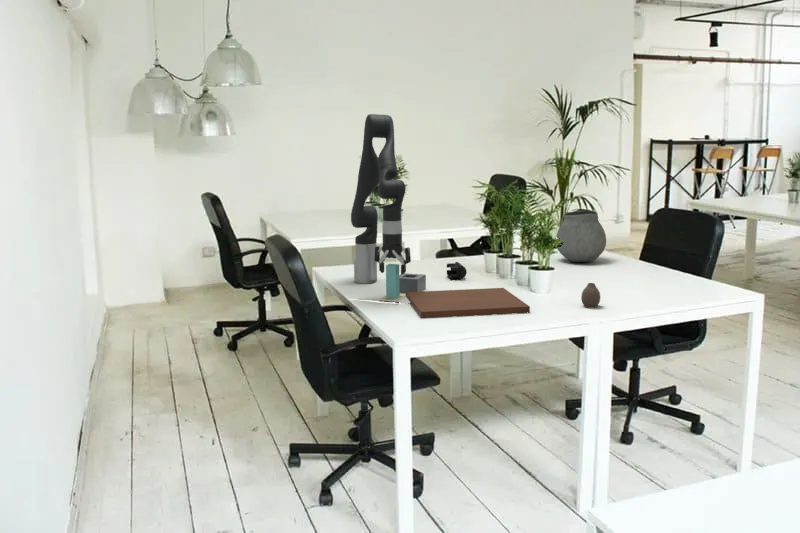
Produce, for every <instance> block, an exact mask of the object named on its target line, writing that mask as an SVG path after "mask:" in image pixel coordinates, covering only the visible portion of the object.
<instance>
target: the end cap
mask: <svg viewBox="0 0 800 533" xmlns="http://www.w3.org/2000/svg"><path fill="white" fill-rule="evenodd" d="M446 268H450V269H447V270H446V277H447V279H448V280H449V281H451V282H452V280H455V281H462V280H463V279H464V278H465V277H466V276H467V273H468V272H467V268H466V267H465V266H464V265H462V263H460V262H458V261H455V262H454V263H453V262H452V263H450V262H449V263H446Z"/></svg>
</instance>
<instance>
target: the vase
mask: <svg viewBox="0 0 800 533" xmlns="http://www.w3.org/2000/svg"><path fill="white" fill-rule="evenodd" d="M580 297H581V299H580V300H581V303H582V305H583V306H584V307H585V306H586V307H585V308H589V307H594V308H597V306H599V304H600V302H601V292H600V291H599V289H598V287H597V286H596V284H595V283H594V282H588V283H587V285H586V287H585V288H584V289H583V290H582V292H581V296H580Z"/></svg>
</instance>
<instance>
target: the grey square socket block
mask: <svg viewBox="0 0 800 533" xmlns="http://www.w3.org/2000/svg"><path fill="white" fill-rule="evenodd" d="M426 280H427V276H426V274H422V273H409V272H407V273H406V272H405V273H404V274H401V273H399V287H400V294H406V292H420V291H425V290H427V281H426Z"/></svg>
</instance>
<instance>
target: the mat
mask: <svg viewBox="0 0 800 533" xmlns="http://www.w3.org/2000/svg"><path fill="white" fill-rule="evenodd" d="M405 297H406V295H400V297H398V298H397V299H391V298H386V295H384V296H382V297H380V298H379V302H381V301H384V303H393V302H395V303H396V304H400V303H399V302H400V300H402V299H404V298H405ZM406 298H407V297H406Z"/></svg>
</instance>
